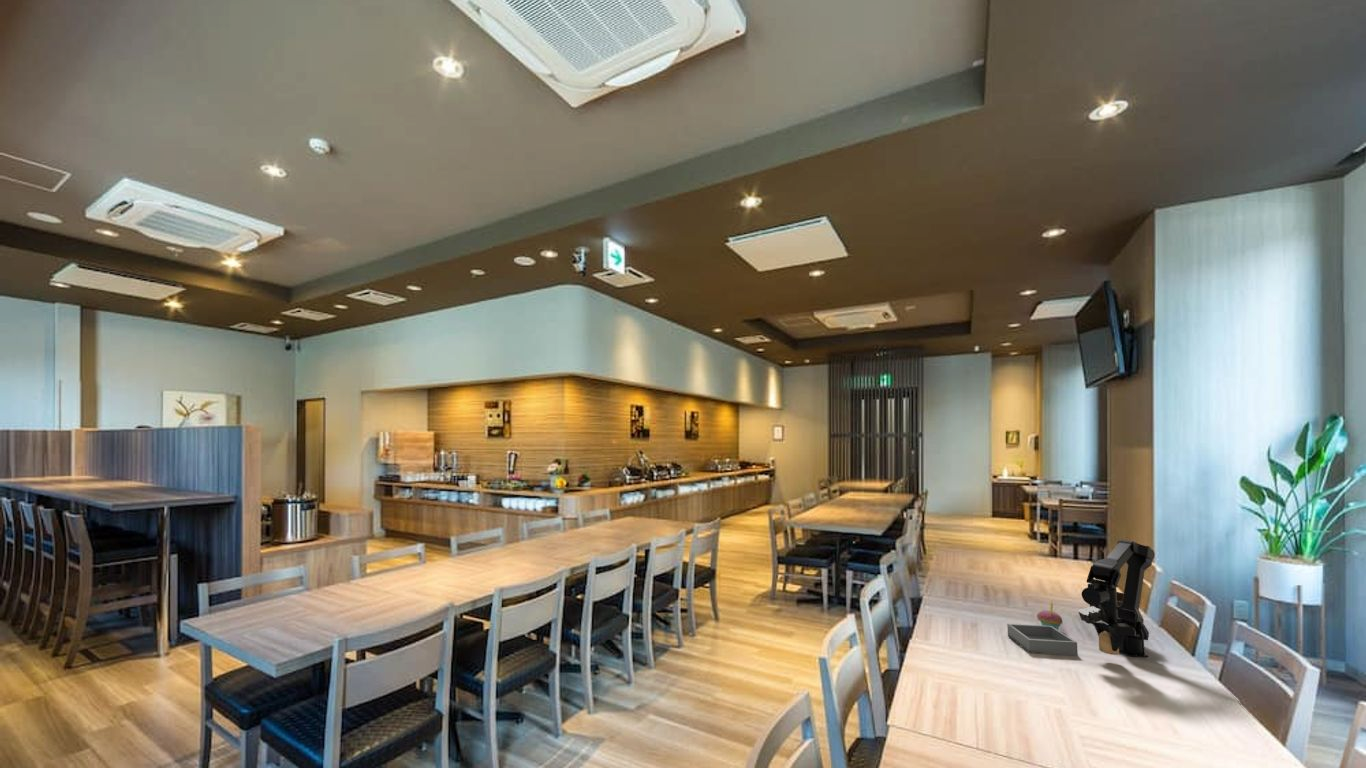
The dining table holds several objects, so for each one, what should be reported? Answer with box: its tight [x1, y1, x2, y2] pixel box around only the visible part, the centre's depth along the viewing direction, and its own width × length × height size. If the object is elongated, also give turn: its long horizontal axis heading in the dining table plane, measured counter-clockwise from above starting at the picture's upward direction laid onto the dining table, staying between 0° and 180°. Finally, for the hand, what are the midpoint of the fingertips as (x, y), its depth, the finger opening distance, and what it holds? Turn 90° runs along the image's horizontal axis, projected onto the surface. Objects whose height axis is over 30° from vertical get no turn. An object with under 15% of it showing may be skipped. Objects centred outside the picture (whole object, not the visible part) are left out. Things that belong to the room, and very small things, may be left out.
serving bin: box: [1006, 623, 1079, 656], centre depth 199 cm, size 16×16×4 cm
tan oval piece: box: [1098, 631, 1120, 656], centre depth 186 cm, size 5×5×7 cm
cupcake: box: [1036, 601, 1063, 630], centre depth 215 cm, size 9×8×12 cm
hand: (1108, 647), depth 186 cm, fingers closed on tan oval piece, 5 cm apart
